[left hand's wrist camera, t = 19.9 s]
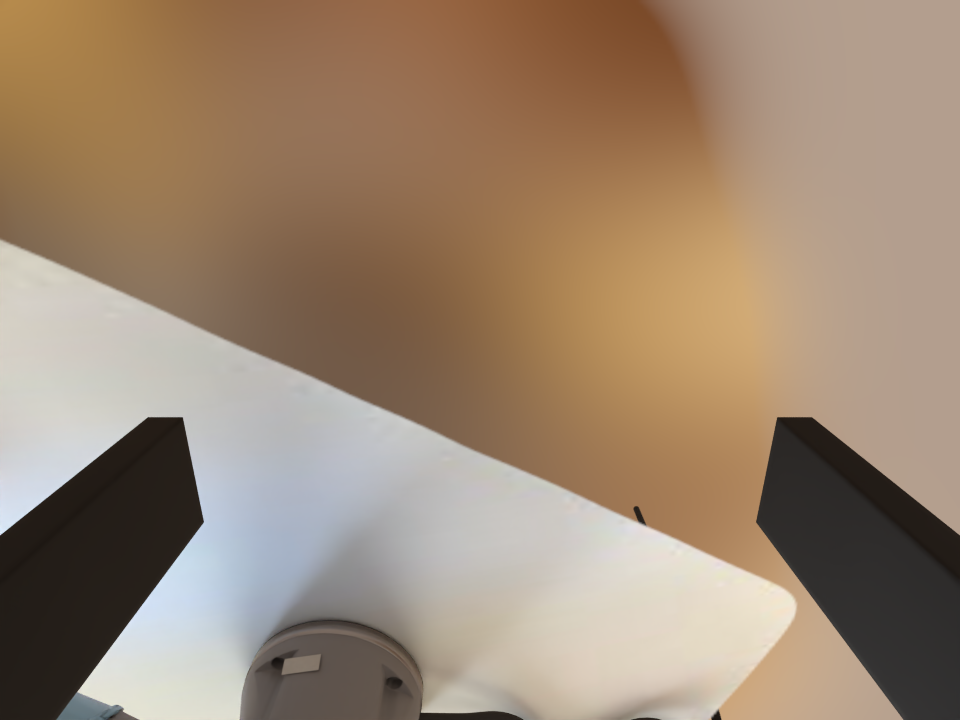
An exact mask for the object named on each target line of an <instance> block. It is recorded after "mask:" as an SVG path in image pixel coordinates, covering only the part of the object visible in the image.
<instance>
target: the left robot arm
mask: <svg viewBox="0 0 960 720" xmlns="http://www.w3.org/2000/svg"><path fill="white" fill-rule="evenodd" d="M633 510H634V512H635V515H636V517H637V520H638V522H639V523H640V524H642V525H644V526H647V525H646V523H645V521H644V518H643V516H642V513H641V511H640V509H639V507H638V506H635V507H634V508H633ZM203 523H204V520H203V515H202V511H201V506H200V501H199V496H198V491H197V486H196V481H195V476H194V471H193V466H192V461H191V456H190V451H189V446H188V441H187V436H186V431H185V426H184V421H183V417H148V418H147V419H145V420H144V421H143V422H142V423H140V424H139V425H138V426H137V427H135V428H134V429H133V430H132V431H130V432H129V433H128V434H127V435H125V436H124V437H123V438H122V439H120V440H119V441H118V442H117V443H115V444H114V445H113V446H112V447H110V448H109V449H108V450H107V451H105V452H104V453H103V454H102V455H100V456H99V457H98V458H97V459H95V460H94V461H93V462H92V463H90V464H89V465H88V466H87V467H85V468H84V469H83V470H82V471H80V472H79V473H78V474H77V475H75V476H74V477H73V478H72V479H70V480H69V481H68V482H67V483H65V484H64V485H63V486H62V487H60V488H59V489H58V490H56V491H55V492H54V493H53V494H51V495H50V496H49V497H48V498H46V499H45V500H44V501H43V502H41V503H40V504H39V505H38V506H36V507H35V508H34V509H33V510H31V511H30V512H29V513H28V514H26V515H25V516H24V517H23V518H21V519H20V520H19V521H18V522H16V523H15V524H14V525H13V526H11V527H10V528H9V529H8V530H6V531H5V532H4V533H3V534H1V535H0V720H138V719H136V718H134V717H132V716H130V715H128V714H126V713H124V712H122V711H123V710H124V708H122V707H121V706H119V705H114V706H109V705H107V704H105V703H102V702H100V701H97V700H95V699H92V698H90V697H87V696H85V695H82V694H80V693H77V691H78V690H79V689H80V687H81V686H82V685H83V683H84V682H85V681H86V679H87V678H88V677H89V675H90V674H91V673H92V671H93V670H94V669H95V667H96V666H97V665H98V663H99V662H100V661H101V659H102V658H103V657H104V655H105V654H106V653H107V651H108V650H109V649H110V647H111V646H112V645H113V643H114V642H115V641H116V639H117V638H118V637H119V635H120V634H121V633H122V631H123V630H124V628H125V627H126V626H127V624H128V623H129V622H130V620H131V619H132V618H133V616H134V615H135V614H136V612H137V611H138V610H139V608H140V607H141V606H142V604H143V603H144V602H145V600H146V599H147V598H148V596H149V595H150V594H151V592H152V591H153V590H154V588H155V587H156V586H157V584H158V583H159V582H160V580H161V579H162V578H163V576H164V575H165V574H166V572H167V571H168V570H169V568H170V567H171V566H172V564H173V563H174V561H175V560H176V559H177V557H178V556H179V555H180V553H181V552H182V551H183V549H184V548H185V547H186V545H187V544H188V543H189V541H190V540H191V539H192V537H193V536H194V535H195V533H196V532H197V531H198V529H199V528H200V527H201V525H202V524H203ZM756 523H757V524H758V525H759V527H760V528H761V529H762V531H763V532H764V533H765V535H766V536H767V537H768V539H769V540H770V541H771V543H772V544H773V545H774V547H775V548H776V549H777V551H778V552H779V553H780V555H781V556H782V557H783V559H784V560H785V561H786V563H787V564H788V565H789V567H790V568H791V569H792V571H793V572H794V574H795V575H796V576H797V577H798V579H799V580H800V582H801V583H802V584H803V586H804V587H805V588H806V590H807V591H808V592H809V594H810V595H811V596H812V598H813V599H814V600H815V602H816V603H817V604H818V606H819V607H820V608H821V610H822V611H823V612H824V614H825V615H826V616H827V618H828V619H829V620H830V622H831V623H832V624H833V626H834V627H835V628H836V630H837V631H838V632H839V634H840V635H841V636H842V638H843V639H844V640H845V642H846V643H847V645H848V646H849V647H850V649H851V650H852V651H853V653H854V654H855V655H856V657H857V658H858V659H859V661H860V662H861V663H862V665H863V666H864V667H865V669H866V670H867V671H868V673H869V674H870V675H871V677H872V678H873V679H874V681H875V682H876V683H877V685H878V686H879V687H880V689H881V690H882V691H883V693H884V694H885V695H886V697H887V698H888V699H889V701H890V702H891V704H892V705H893V706H894V708H895V709H896V710H897V711H898V713H899V714H900V716H901V717H902V718H903V720H960V535H959V534H957V533H956V532H955V531H954V530H952V529H951V528H950V527H949V526H947V525H946V524H945V523H944V522H942V521H941V520H940V519H939V518H937V517H936V516H935V515H934V514H932V513H931V512H930V511H929V510H927V509H926V508H925V507H924V506H922V505H921V504H920V503H919V502H917V501H916V500H915V499H914V498H912V497H911V496H910V495H909V494H907V493H906V492H905V491H903V490H902V489H901V488H900V487H898V486H897V485H896V484H895V483H893V482H892V481H891V480H890V479H888V478H887V477H886V476H885V475H883V474H882V473H881V472H880V471H878V470H877V469H876V468H875V467H873V466H872V465H871V464H870V463H868V462H867V461H866V460H865V459H863V458H862V457H861V456H860V455H858V454H857V453H856V452H855V451H853V450H852V449H851V448H850V447H848V446H847V445H846V444H845V443H843V442H842V441H841V440H840V439H838V438H837V437H836V436H835V435H833V434H832V433H831V432H830V431H828V430H827V429H826V428H825V427H823V426H822V425H821V424H820V423H818V422H817V421H816V420H815V419H813V418H812V417H778V418H777V421H776V426H775V431H774V436H773V441H772V446H771V451H770V456H769V461H768V466H767V471H766V476H765V481H764V486H763V491H762V496H761V501H760V506H759V511H758V516H757V520H756ZM422 698H423V683H422V678H421V675H420V672H419V670H418V668H417V666H416V664H415V662H414V661H413V659H412V658H411V656H410V655H409V654H408V653H407V652H406V651H405V650H404V649H403V648H402V647H401V646H400V645H399V644H398V643H396V642H395V641H394V640H392V639H391V638H389V637H387V636H386V635H384V634H382V633H380V632H378V631H376V630H374V629H371V628H368V627H365V626H362V625H359V624H354V623H350V622H342V621H315V622H309V623H304V624H300V625H296V626H293V627H291V628H288V629H286V630H284V631H282V632H280V633H278V634H277V635H275V636H274V637H272V638H271V639H270V640H268V641H267V642H266V643H265V644H264V645H263V646H262V647H261V649H260V650H259V651H258V653H257V654H256V656H255V658H254V660H253V662H252V664H251V667H250V669H249V671H248V673H247V676H246V679H245V683H244V687H243V691H242V697H241V709H240V720H523V719H522V718H520V717H517V716H515V715H512V714H509V713H505V712H498V711H487V712H476V713H421V707H422ZM633 720H660V719H656V718H637V719H633ZM711 720H722V719H721V715H720V712H719V709H718V710H717V711H716V712H715V713H714V714H713V716H712V717H711Z"/></svg>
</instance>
